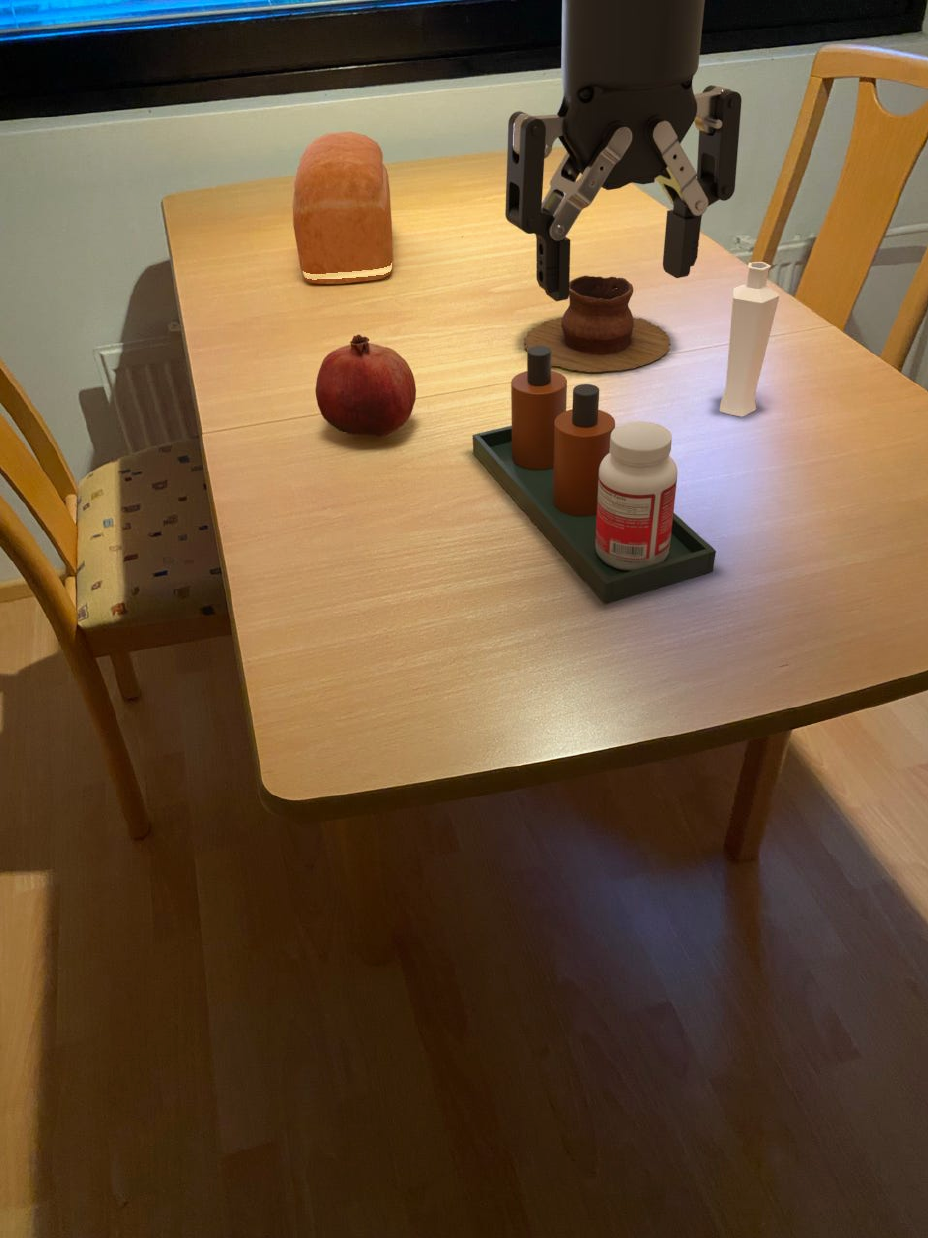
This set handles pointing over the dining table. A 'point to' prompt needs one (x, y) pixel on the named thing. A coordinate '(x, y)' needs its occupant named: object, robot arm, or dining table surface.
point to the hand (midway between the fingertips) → (617, 285)
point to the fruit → (365, 389)
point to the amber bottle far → (536, 410)
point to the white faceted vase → (748, 339)
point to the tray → (587, 528)
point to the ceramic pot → (599, 329)
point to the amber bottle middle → (580, 452)
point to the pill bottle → (636, 497)
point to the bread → (342, 208)
